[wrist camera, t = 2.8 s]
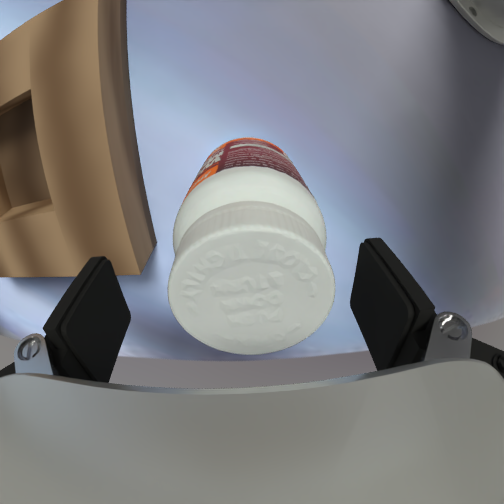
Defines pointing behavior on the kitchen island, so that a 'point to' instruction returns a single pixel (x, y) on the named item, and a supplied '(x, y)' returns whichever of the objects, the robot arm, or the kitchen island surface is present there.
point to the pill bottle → (250, 253)
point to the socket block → (70, 145)
